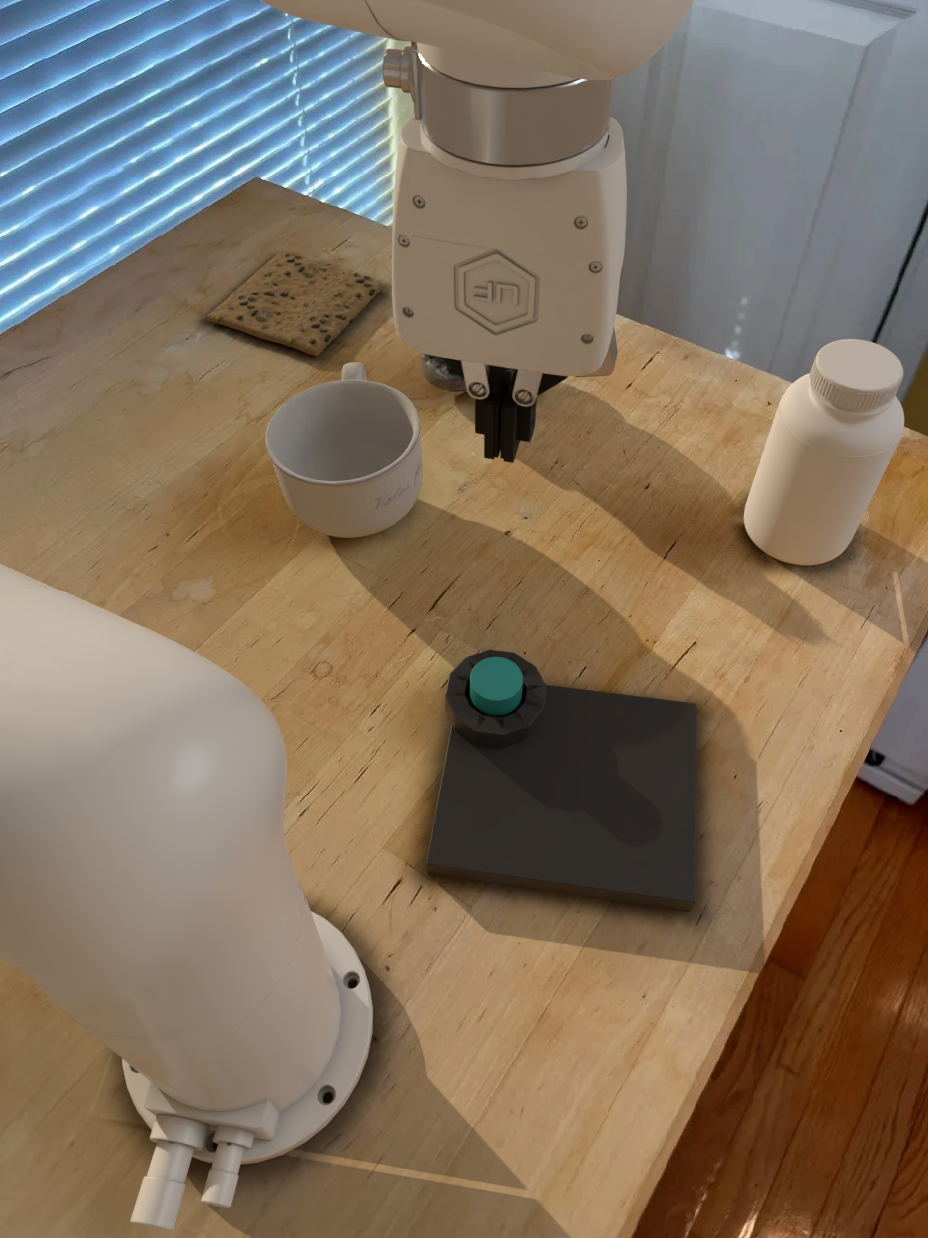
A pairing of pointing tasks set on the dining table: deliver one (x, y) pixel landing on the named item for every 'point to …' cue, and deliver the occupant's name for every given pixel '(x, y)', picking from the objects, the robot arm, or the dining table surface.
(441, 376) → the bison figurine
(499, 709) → the button
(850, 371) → the pill bottle
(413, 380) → the dining table surface
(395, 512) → the teacup
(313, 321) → the cookie
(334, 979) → the robot arm
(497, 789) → the scale
